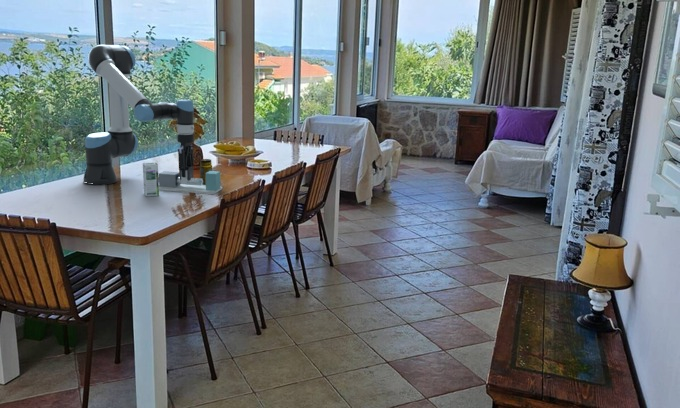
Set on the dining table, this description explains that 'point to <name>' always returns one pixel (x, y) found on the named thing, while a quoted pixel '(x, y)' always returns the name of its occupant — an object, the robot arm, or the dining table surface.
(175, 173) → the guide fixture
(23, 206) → the dining table surface
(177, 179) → the tube
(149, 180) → the syrup box
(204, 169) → the condiment
